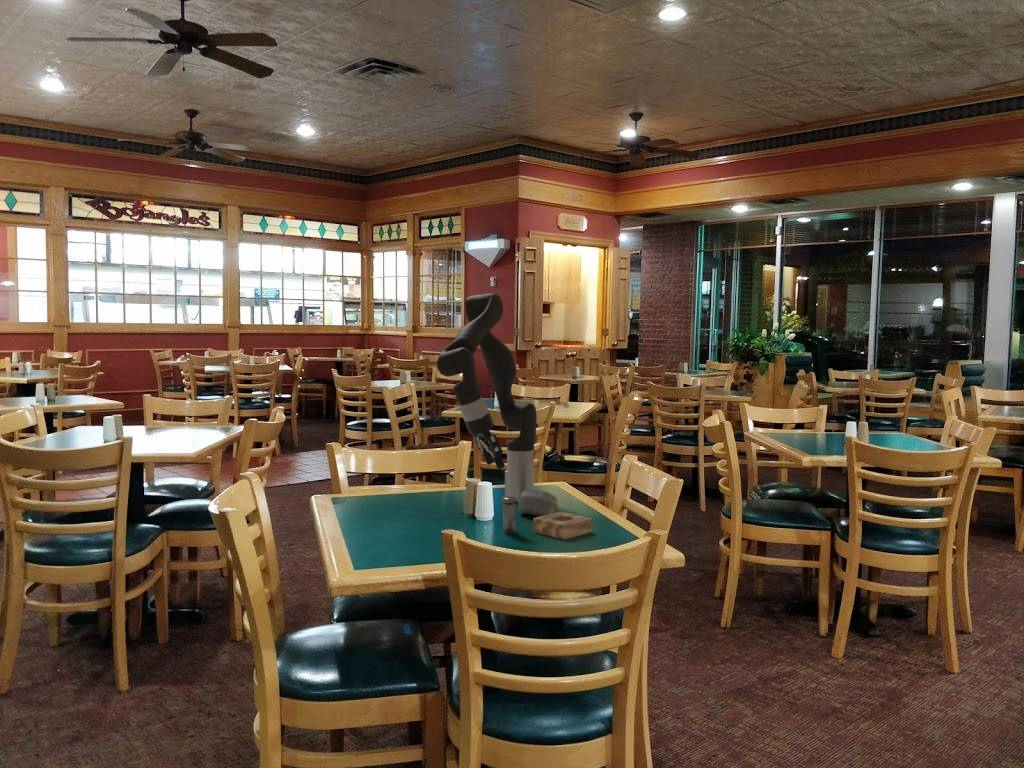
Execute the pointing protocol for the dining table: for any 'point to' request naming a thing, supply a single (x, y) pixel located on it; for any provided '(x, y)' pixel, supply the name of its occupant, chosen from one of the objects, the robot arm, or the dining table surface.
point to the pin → (508, 514)
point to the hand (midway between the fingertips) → (496, 465)
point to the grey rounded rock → (537, 503)
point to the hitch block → (562, 525)
